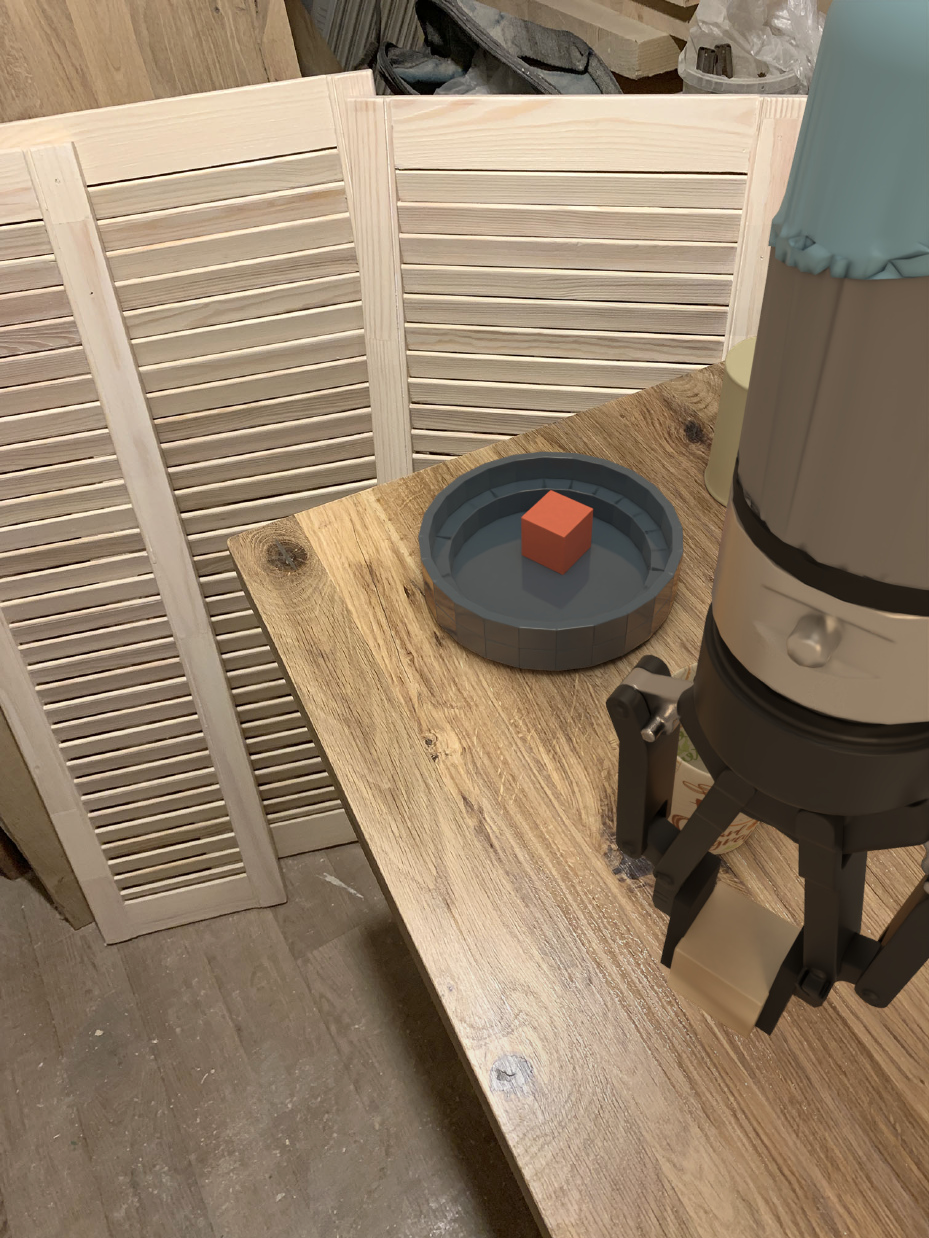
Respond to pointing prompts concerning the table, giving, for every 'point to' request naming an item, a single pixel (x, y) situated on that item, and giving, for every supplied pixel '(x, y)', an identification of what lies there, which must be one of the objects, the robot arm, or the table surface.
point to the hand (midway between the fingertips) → (727, 973)
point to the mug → (700, 787)
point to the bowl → (534, 594)
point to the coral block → (556, 531)
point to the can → (729, 419)
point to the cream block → (731, 958)
